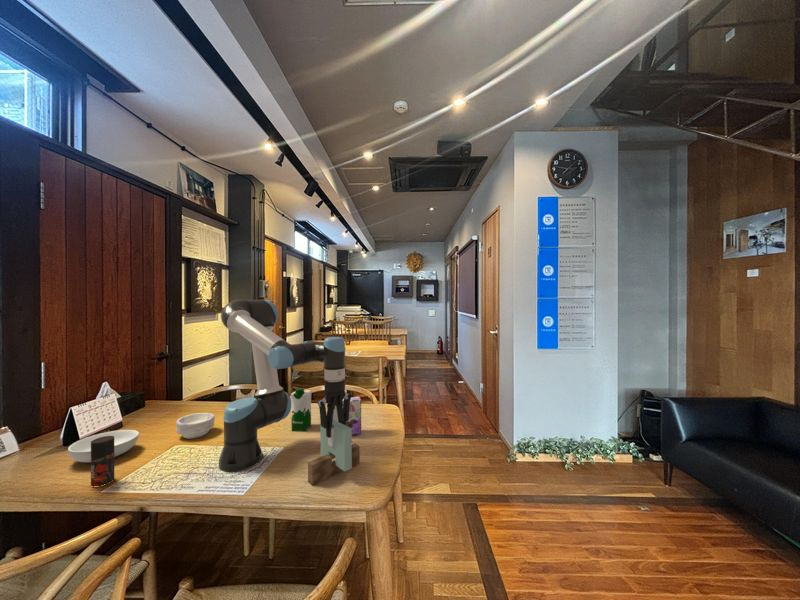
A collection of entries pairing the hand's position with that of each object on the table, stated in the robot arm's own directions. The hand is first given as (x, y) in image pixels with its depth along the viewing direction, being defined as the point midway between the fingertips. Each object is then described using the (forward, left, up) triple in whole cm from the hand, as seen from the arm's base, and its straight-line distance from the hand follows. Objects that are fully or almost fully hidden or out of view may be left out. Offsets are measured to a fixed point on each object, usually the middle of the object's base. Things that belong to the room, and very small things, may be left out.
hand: (335, 443), depth 113 cm
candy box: (+22, +25, -11) cm, 35 cm away
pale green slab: (0, 0, -7) cm, 7 cm away
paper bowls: (-29, +75, -11) cm, 81 cm away
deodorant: (-61, +52, -11) cm, 81 cm away
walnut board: (0, 0, -11) cm, 11 cm away
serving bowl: (-60, +77, -11) cm, 98 cm away
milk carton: (+10, +46, -11) cm, 48 cm away
